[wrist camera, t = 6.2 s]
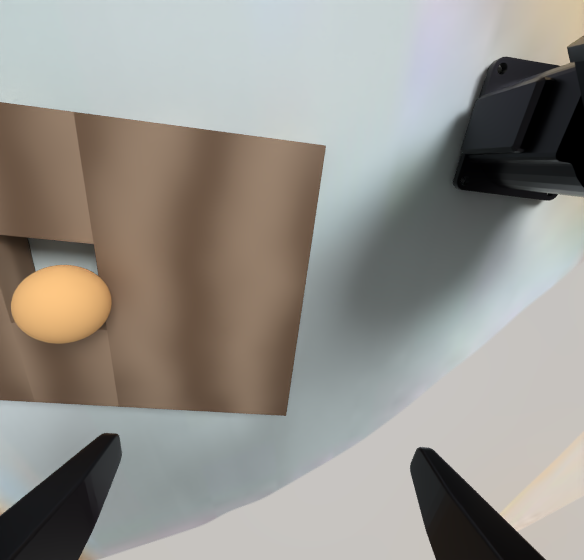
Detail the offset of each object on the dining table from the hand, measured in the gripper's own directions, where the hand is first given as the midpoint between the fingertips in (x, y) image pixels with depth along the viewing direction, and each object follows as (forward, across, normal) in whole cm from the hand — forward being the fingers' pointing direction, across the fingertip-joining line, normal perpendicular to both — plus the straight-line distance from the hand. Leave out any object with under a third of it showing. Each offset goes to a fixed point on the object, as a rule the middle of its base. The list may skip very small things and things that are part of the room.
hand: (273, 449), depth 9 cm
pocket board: (+12, +9, 0) cm, 15 cm away
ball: (+8, +11, 0) cm, 13 cm away
